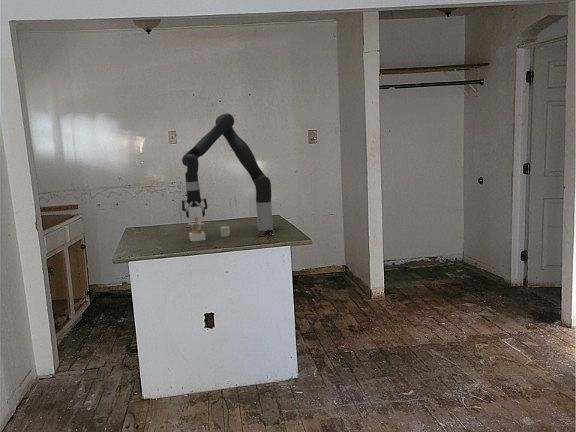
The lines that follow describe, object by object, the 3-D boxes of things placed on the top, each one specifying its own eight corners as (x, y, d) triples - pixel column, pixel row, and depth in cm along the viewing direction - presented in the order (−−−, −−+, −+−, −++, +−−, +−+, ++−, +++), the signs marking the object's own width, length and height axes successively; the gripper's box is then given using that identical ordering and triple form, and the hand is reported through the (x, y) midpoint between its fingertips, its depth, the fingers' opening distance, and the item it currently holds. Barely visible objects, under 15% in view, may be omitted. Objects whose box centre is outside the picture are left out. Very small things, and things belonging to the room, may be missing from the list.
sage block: (229, 234, 307) (229, 226, 306) (229, 236, 302) (229, 228, 302) (221, 235, 307) (220, 226, 306) (221, 236, 302) (220, 228, 301)
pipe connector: (202, 234, 312) (200, 218, 311) (186, 234, 314) (185, 218, 313) (207, 230, 322) (206, 215, 320) (192, 230, 324) (191, 215, 322)
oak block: (201, 231, 301) (200, 223, 300) (200, 233, 296) (200, 224, 295) (192, 232, 300) (192, 223, 299) (192, 234, 295) (191, 225, 294)
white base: (203, 237, 304) (202, 230, 303) (205, 240, 296) (204, 233, 295) (189, 239, 301) (189, 232, 301) (191, 242, 294) (190, 234, 293)
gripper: (206, 187, 298) (208, 215, 300) (181, 189, 297) (184, 217, 299) (205, 189, 290) (207, 217, 293) (179, 191, 289) (182, 219, 292)
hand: (195, 217), depth 296 cm, fingers open, 8 cm apart
